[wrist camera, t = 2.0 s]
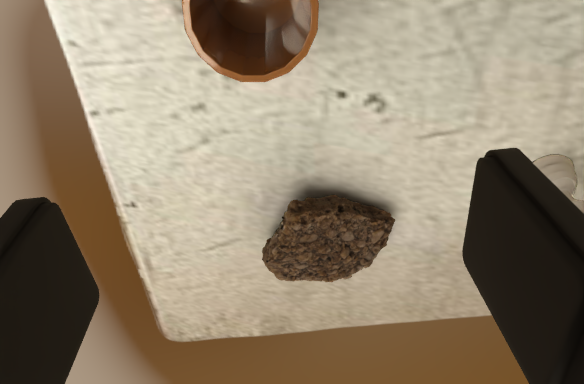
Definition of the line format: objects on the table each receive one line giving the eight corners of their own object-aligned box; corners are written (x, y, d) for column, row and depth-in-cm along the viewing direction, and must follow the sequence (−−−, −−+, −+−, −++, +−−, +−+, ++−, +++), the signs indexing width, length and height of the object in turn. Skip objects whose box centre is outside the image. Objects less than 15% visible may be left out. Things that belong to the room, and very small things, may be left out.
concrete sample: (250, 242, 44) (248, 279, 40) (297, 165, 40) (300, 197, 35) (346, 278, 48) (353, 314, 44) (401, 210, 43) (415, 244, 39)
